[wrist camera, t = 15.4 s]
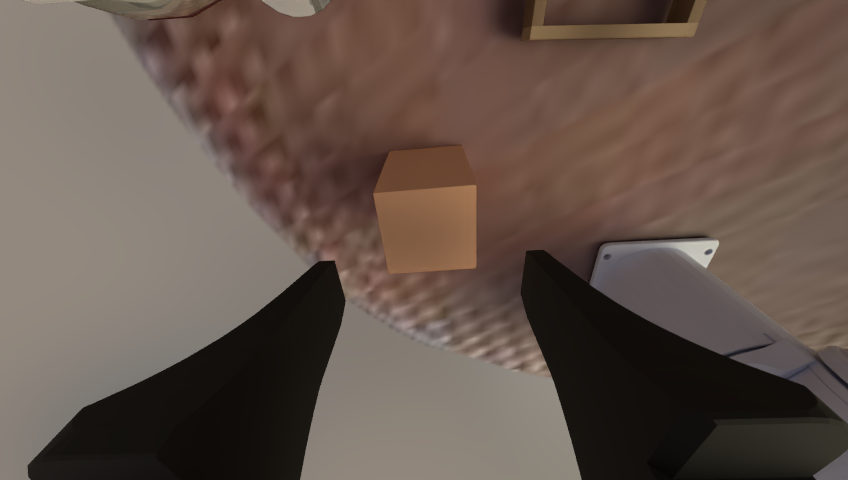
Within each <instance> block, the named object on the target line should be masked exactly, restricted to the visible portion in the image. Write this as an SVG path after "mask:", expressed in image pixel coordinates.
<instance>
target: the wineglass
mask: <svg viewBox="0 0 848 480" xmlns="http://www.w3.org/2000/svg"><path fill="white" fill-rule="evenodd" d="M24 1H28V2H31V3H35V4H46V3H59V2H71V1H74V2H77V3H80V4H82V5H85V6H88V7H92V8H96V9H99V10H103V11H106V12H109V13H113V14H116V15H120V16H123V17H127V18H130V19H134V20H141V19H147V20H162V19H175V18H188V17H194V16H196V15H198V14H201V13H202V12H204V11H206V10H208V9H209V8H211V7H213V6H214V5H216V4H218V3H220V2H221V1H223V0H24ZM262 1H263V2H265V3H266V4H267V5H269V6H270V7H272V8H273V9H275V10H276V11H278V12H280V13H283V14H286V15H290V16H293V17H303V16H311V15H313V14H315V13H317V12H319V11H320V10H322V9H324V8H325V7H326V5H327V4H328V3H329V2H330V1H331V0H262Z"/></svg>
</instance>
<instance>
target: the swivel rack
mask: <svg viewBox="0 0 848 480" xmlns="http://www.w3.org/2000/svg"><path fill="white" fill-rule="evenodd" d="M706 2H707V0H673V2H672V5H671V8H670V11H669V14H668V17H667V20H666V23H663V24H614V25H564V26H543V22H544V16H545V10H546V3H547V0H526V7H525V15H524V23H523V30H522V38H521V41H533V40H584V39H636V38H676V37H691V36H694V34H695V31H696V28H697V26H698V23H699V20H700V18H701V15H702V12H703V10H704V7H705V5H706Z"/></svg>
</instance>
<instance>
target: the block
mask: <svg viewBox="0 0 848 480" xmlns="http://www.w3.org/2000/svg"><path fill="white" fill-rule="evenodd" d="M373 196H374V201H375V206H376V211H377V216H378V221H379V227H380V232H381V237H382V242H383V247H384V252H385V257H386V263H387V268H388V273H389V274H397V273H412V272H427V271H442V270H457V269H472V268H476V183H475V180H474V177H473V175H472V172H471V169H470V167H469V164H468V161H467V158H466V156H465V153H464V150H463V148H462V145H454V146H443V147H432V148H421V149H410V150H399V151H389V154H388V156H387V159H386V161H385V164H384V166H383V169H382V172H381V174H380V177H379V179H378V182H377V184H376V187H375V189H374V192H373Z"/></svg>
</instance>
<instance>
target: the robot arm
mask: <svg viewBox="0 0 848 480" xmlns="http://www.w3.org/2000/svg"><path fill="white" fill-rule="evenodd" d="M718 245H719V241H718V240H716V239H714V238H711V237H710V238H691V239H671V240H652V241H632V242H613V243H605V244H603V245H602V246H601V247H600V249H599V252H598V256H597V259H596V263H595V266H594V270H593V273H592V277H591V280H590V284H588V283H587V282H585V281H584V280H583V279H581V278H580V277H578V276H577V275H576V274H574V273H573V272H572V271H570V270H569V269H568V268H567V267H565V266H564V265H563V264H561V263H560V262H559V261H557V260H556V259H555V258H553V257H552V256H551V255H550V254H548V253H547V252H545V251H544V250H532V251H526V257H525V264H524V272H523V279H522V287H521V296H522V300H523V304H524V307H525V311H526V315H527V318H528V320H529V323H530V325H531V327H532V330H533V332H534V335H535V337H536V340H537V342H538V344H539V347H540V349H541V351H542V354H543V356H544V358H545V361H546V363H547V366H548V368H549V370H550V373H551V376H552V378H553V381H554V384H555V387H556V390H557V393H558V396H559V400H560V403H561V406H562V410H563V413H564V416H565V420H566V423H567V427H568V430H569V434H570V437H571V440H572V444H573V448H574V452H575V455H576V459H577V463H578V467H579V471H580V475H581V478H582V480H848V349H842V348H840V347H837V346H827V347H826V348H825V349H824V350H822V351H820V352H817V351H815V350H813V349H810V348H809V347H808V346H807V345H805V344H804V343H803V342H801V341H800V340H799V339H797V338H796V337H795V336H794V335H792V334H791V333H790V332H788V331H787V330H786V329H784V328H783V327H782V326H781V325H779V324H778V323H777V322H775V321H774V320H773V319H771V318H770V317H769V316H768V315H766V314H765V313H764V312H762V311H761V310H760V309H758V308H757V307H756V306H754V305H753V304H752V303H751V302H749V301H748V300H747V299H745V298H744V297H743V296H741V295H740V294H739V293H738V292H736V291H735V290H734V289H732V288H731V287H730V286H728V285H727V284H726V283H725V282H723V281H722V280H721V279H719V278H718V277H717V276H715V275H714V274H713V273H712V272H710V271H709V270H708V269H706V268H707V266H708V264H709V262H710V261H711V259H712V257H713V255H714V253H715V251H716V249H717V247H718ZM606 254H608V255H607V256H605V255H606ZM604 256H605V257H604ZM345 301H346V300H345V297H344V293H343V289H342V286H341V282H340V279H339V275H338V271H337V268H336V264H335V261H319V262H317V263H316V264H315V265H314V266H312V267H311V268H310V269H309V270H308V271H307V272H306V273H304V274H303V275H302V276H301V277H300V278H299V279H297V280H296V281H295V282H294V283H293V284H292V285H290V286H289V287H288V288H287V289H286V290H285V291H284V292H282V293H281V294H280V295H279V296H278V297H276V298H275V299H274V300H272V301H271V302H270V303H269V304H267V305H266V306H265V307H264V308H262V309H261V310H260V311H259V312H257V313H256V314H255V315H253V316H252V317H251V318H249V319H248V320H246V321H245V322H244V323H242V324H241V325H239V326H238V327H236V328H235V329H234V330H232V331H230V332H229V333H228V334H226V335H224V336H223V337H221V338H220V339H218V340H216V341H215V342H213V343H211V344H210V345H208V346H206V347H205V348H203V349H201V350H199V351H198V352H196V353H194V354H193V355H191V356H189V357H188V358H186V359H184V360H182V361H180V362H179V363H176V364H175V365H173V366H171V367H169V368H167V369H165V370H163V371H161V372H159V373H157V374H155V375H153V376H152V377H149V378H148V379H145V380H143V381H141V382H139V383H137V384H135V385H133V386H131V387H128V388H126V389H124V390H122V391H120V392H117V393H115V394H113V395H111V396H109V397H106V398H104V399H102V400H100V401H97V402H96V403H93V404H91V405H88V406H86V407H84V408H83V409H81V410H80V411H79V412H78V413H77V414H76V416H75V417H74V418H73V419H72V420H71V421H70V422H69V423H68V424H67V425H66V426H65V427H64V428H63V429H62V430H61V431H60V432H59V433H58V434H57V435H56V436H55V437H54V438H53V439H52V441H51V442H50V443H49V444H48V445H47V446H46V447H45V448H44V449H43V450H42V451H41V452H40V453H39V454H38V455H37V456H36V457H35V458H34V460H32V461H31V462H30V464H29V465H28V477H29V478H30V479H31V480H300V477H301V472H302V466H303V461H304V456H305V450H306V445H307V441H308V436H309V431H310V427H311V422H312V417H313V413H314V409H315V405H316V400H317V396H318V392H319V388H320V385H321V382H322V378H323V376H324V373H325V370H326V367H327V364H328V361H329V358H330V355H331V353H332V350H333V347H334V344H335V341H336V338H337V335H338V332H339V329H340V326H341V322H342V317H343V312H344V307H345Z"/></svg>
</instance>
